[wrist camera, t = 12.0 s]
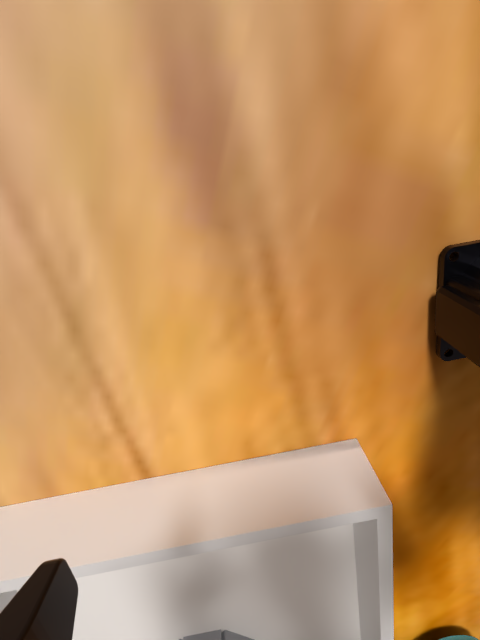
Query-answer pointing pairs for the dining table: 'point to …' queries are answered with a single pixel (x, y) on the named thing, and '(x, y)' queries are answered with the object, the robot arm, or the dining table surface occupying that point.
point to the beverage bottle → (459, 637)
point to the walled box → (220, 551)
